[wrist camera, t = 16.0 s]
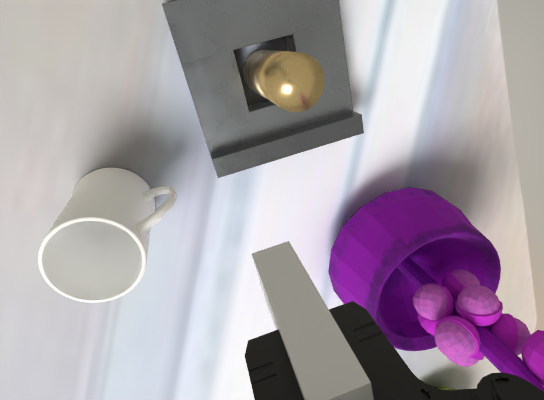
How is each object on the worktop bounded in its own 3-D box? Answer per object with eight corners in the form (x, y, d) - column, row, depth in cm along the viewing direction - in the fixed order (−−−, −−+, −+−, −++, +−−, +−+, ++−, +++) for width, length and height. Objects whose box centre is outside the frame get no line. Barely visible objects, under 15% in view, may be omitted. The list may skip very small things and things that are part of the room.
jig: (162, 6, 34) (161, 1, 30) (321, -33, 36) (342, -43, 32) (213, 163, 41) (218, 177, 37) (344, 123, 43) (363, 132, 39)
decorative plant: (391, 149, 46) (690, 297, 20) (463, 226, 54) (745, 407, 28) (291, 256, 49) (433, 516, 22) (373, 315, 57) (551, 558, 30)
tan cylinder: (238, 55, 38) (263, 60, 27) (278, 44, 38) (319, 45, 27) (249, 98, 40) (276, 119, 29) (287, 87, 40) (328, 103, 29)
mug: (159, 141, 39) (154, 179, 28) (194, 207, 43) (202, 262, 32) (54, 187, 38) (8, 243, 28) (99, 250, 42) (75, 321, 31)
